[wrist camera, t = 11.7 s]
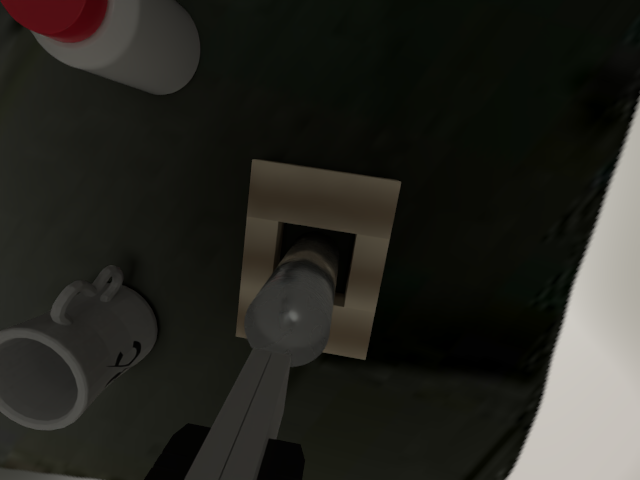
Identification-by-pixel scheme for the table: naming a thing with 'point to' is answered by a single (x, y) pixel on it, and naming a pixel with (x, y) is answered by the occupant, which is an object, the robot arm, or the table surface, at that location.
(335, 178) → the jig
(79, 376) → the mug
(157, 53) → the pill bottle
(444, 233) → the table surface
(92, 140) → the table surface
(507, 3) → the table surface
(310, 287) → the grey cylindrical peg
